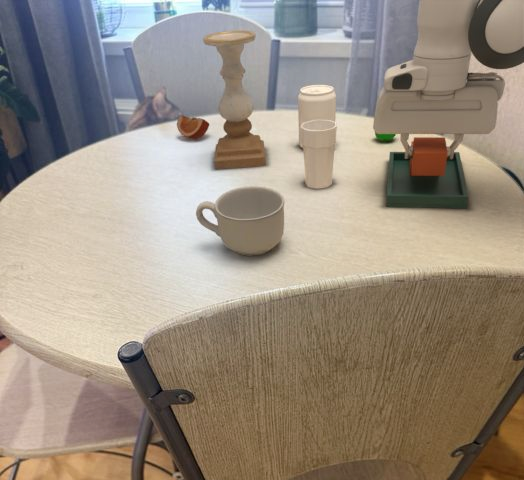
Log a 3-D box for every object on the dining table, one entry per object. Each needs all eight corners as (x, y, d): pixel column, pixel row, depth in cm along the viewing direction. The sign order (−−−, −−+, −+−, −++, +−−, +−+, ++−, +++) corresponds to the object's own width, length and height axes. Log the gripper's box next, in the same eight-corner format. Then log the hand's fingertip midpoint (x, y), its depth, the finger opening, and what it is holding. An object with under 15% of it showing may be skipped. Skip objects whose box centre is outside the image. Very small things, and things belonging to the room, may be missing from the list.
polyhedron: (373, 143, 119) (374, 121, 116) (374, 136, 123) (375, 115, 120) (395, 144, 118) (398, 121, 115) (396, 136, 122) (398, 114, 119)
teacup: (294, 234, 89) (292, 188, 84) (274, 267, 81) (271, 218, 76) (217, 227, 93) (211, 182, 88) (191, 257, 85) (183, 210, 80)
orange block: (441, 159, 99) (445, 137, 96) (444, 176, 93) (447, 153, 90) (411, 159, 100) (413, 137, 97) (411, 175, 94) (414, 152, 91)
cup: (342, 184, 103) (344, 125, 96) (314, 193, 101) (314, 133, 94) (322, 174, 108) (322, 117, 101) (295, 182, 105) (293, 124, 98)
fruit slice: (173, 138, 132) (170, 117, 128) (192, 131, 135) (189, 110, 132) (197, 144, 127) (194, 122, 124) (216, 136, 131) (214, 114, 128)
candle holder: (264, 148, 122) (256, 28, 107) (266, 165, 114) (258, 37, 98) (216, 151, 122) (202, 32, 107) (214, 169, 114) (199, 42, 99)
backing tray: (457, 162, 108) (459, 152, 107) (466, 208, 92) (468, 197, 90) (389, 161, 111) (389, 151, 109) (385, 206, 94) (386, 195, 93)
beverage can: (336, 151, 117) (337, 92, 110) (299, 153, 118) (298, 95, 110) (333, 139, 124) (334, 83, 116) (298, 141, 124) (297, 85, 116)
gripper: (504, 67, 87) (487, 152, 96) (377, 70, 91) (371, 151, 100) (510, 76, 82) (491, 165, 91) (375, 79, 86) (370, 163, 95)
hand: (428, 158), depth 95 cm, fingers closed on orange block, 5 cm apart
